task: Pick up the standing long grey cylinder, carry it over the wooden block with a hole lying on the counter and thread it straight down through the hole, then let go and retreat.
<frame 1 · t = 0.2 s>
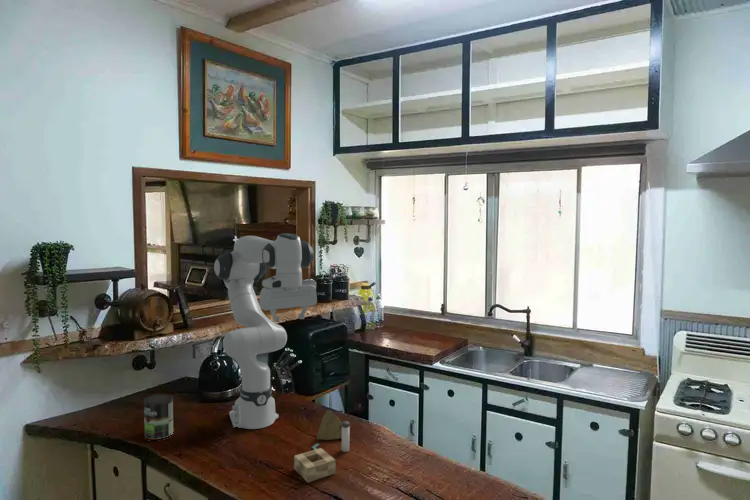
hand: (289, 320, 171), 47 cm above the worktop, fingers open, 8 cm apart
hex key: (319, 453, 175), on the worktop
rock: (332, 438, 187), on the worktop
wooden block with hole: (314, 471, 162), on the worktop
coffee can: (159, 435, 188), on the worktop
long grey cylinder: (345, 449, 177), on the worktop
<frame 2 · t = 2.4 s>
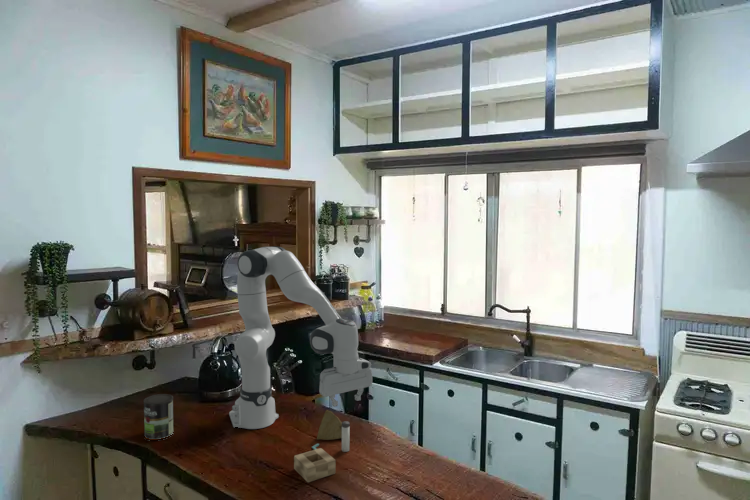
hand: (346, 403, 176), 17 cm above the worktop, fingers open, 8 cm apart
nothing on the worktop moved.
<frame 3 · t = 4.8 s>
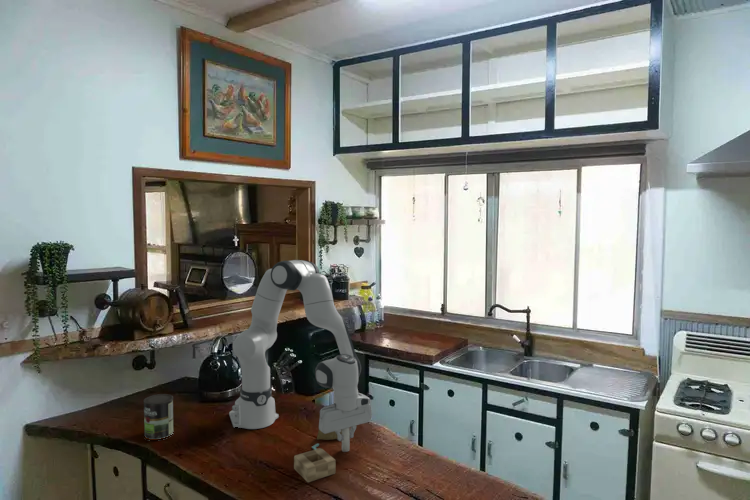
hand: (345, 438, 177), 4 cm above the worktop, fingers closed on long grey cylinder, 3 cm apart
long grey cylinder: (345, 449, 177), on the worktop, touching gripper
everything else where it was.
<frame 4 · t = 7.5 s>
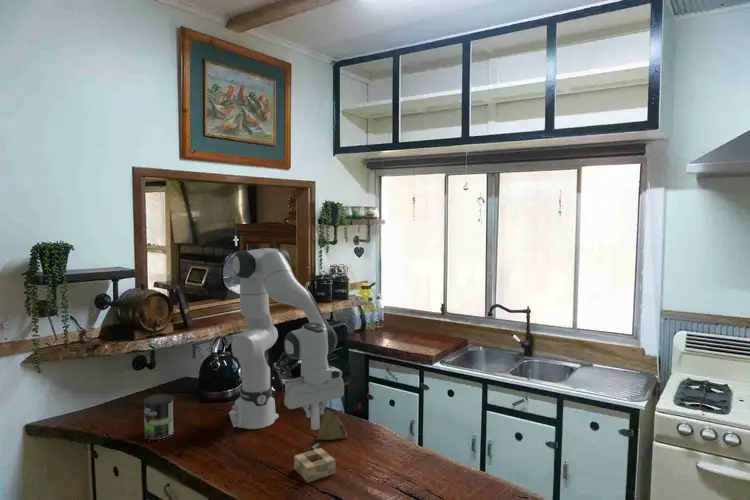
hand: (315, 415, 161), 19 cm above the worktop, fingers closed on long grey cylinder, 3 cm apart
long grey cylinder: (315, 427, 161), point 15 cm above the worktop, touching gripper
everything else where it was.
when the fingers open (6 cm above the worktop, at t = 10.2 s): long grey cylinder drops 1 cm, resting in wooden block with hole.
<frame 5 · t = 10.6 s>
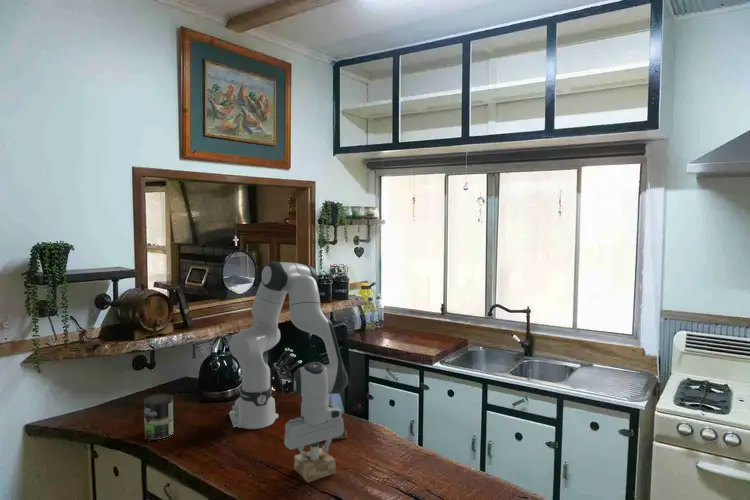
hand: (314, 454, 162), 6 cm above the worktop, fingers open, 6 cm apart
long grey cylinder: (314, 471, 162), resting in wooden block with hole
everything else where it was.
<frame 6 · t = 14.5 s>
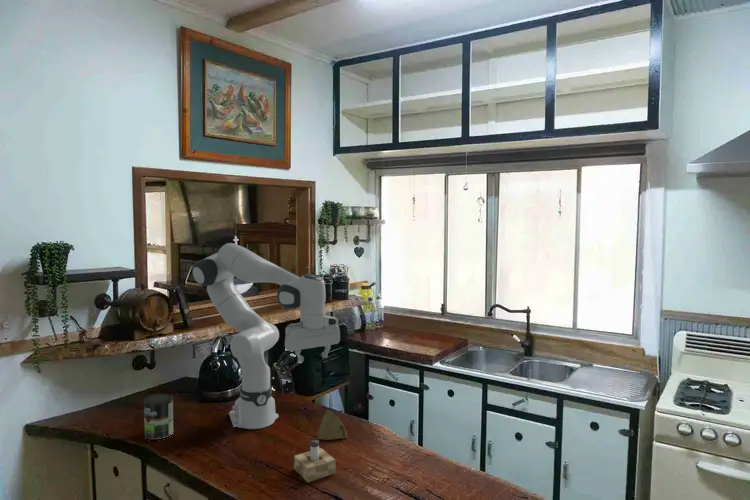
hand: (312, 359, 174), 33 cm above the worktop, fingers open, 8 cm apart
nothing on the worktop moved.
at the end: long grey cylinder 0.0 cm off-centre on the wooden block with hole, point 0.0 cm above the wooden block with hole's base; long grey cylinder tilted 0°; the gripper is holding nothing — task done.
